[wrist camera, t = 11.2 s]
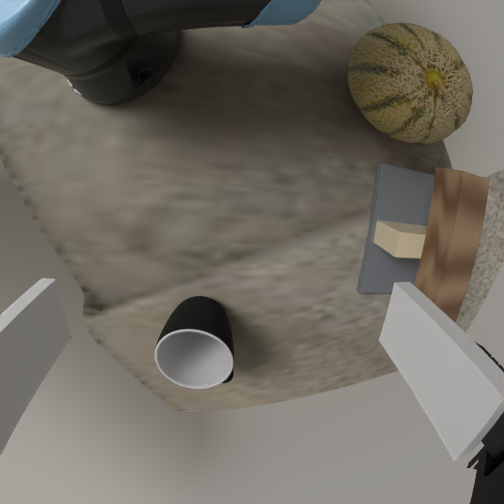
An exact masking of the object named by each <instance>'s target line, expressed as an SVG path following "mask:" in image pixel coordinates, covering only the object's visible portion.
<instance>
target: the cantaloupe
mask: <svg viewBox="0 0 504 504" xmlns="http://www.w3.org/2000/svg"><path fill="white" fill-rule="evenodd" d="M348 84H349V89H350V92H351V95H352V97H353V99H354V101H355V102H356V104H357V105H358V107H359V108H360V110H361V113H362V114H363V115H364V116H365V117H366V119H367V120H368V121H369V122H370V123H371V124H372V125H373V126H374V127H375V128H376V129H378V130H380V131H381V132H383V133H385V134H386V135H388V136H390V137H392V138H393V139H397V140H401V141H404V142H409V143H426V144H427V143H428V144H429V143H434V142H439V141H441V140H443V139H444V138H446V137H448V136H449V135H450V134H451V133H453V132H454V131H455V130H457V129H458V128H460V126H461V125H462V124H463V123H464V122H465V121H466V118H467V117H468V114H469V111H470V107H471V104H472V101H471V100H472V95H473V88H472V82H471V78H470V75H469V72H468V70H467V67H466V65H465V64H464V63H463V61H462V59H461V57H460V55H459V53H458V52H457V50H456V49H455V48H454V47H453V46H452V44H451V43H450V42H449V41H448V40H446V39H445V38H444V37H442V36H441V35H439V34H437V33H435V32H433V31H431V30H429V29H427V28H425V27H422V26H419V25H416V24H410V23H408V24H407V23H393V24H385V25H381V26H380V27H377V28H375V29H373V30H371V31H369V33H368V34H367V35H365V36H364V37H362V38H361V39H360V40H359V41H358V42H357V43H356V45H355V46H354V47H353V49H352V51H351V54H350V58H349V61H348Z"/></svg>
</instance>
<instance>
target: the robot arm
mask: <svg viewBox="0 0 504 504" xmlns="http://www.w3.org/2000/svg"><path fill="white" fill-rule="evenodd" d="M321 1H322V0H0V54H1V55H2V56H4V57H8V58H10V57H14V58H17V59H20V60H24V61H27V62H30V63H33V64H35V65H38V66H41V67H44V68H47V69H50V70H52V71H55V72H58V73H61V74H63V75H64V76H65V77H66V78H67V81H68V83H69V84H70V86H71V87H72V89H73V90H74V91H75V92H76V93H77V94H79V95H80V96H81V97H83V98H85V99H87V100H90V101H93V102H96V103H100V104H118V103H122V102H126V101H129V100H132V99H134V98H136V97H138V96H140V95H142V94H143V93H145V92H146V91H148V90H149V89H150V88H152V87H153V86H154V85H155V84H156V83H157V82H158V81H159V80H160V79H161V78H162V77H163V76H164V75H165V73H166V72H167V70H168V69H169V67H170V66H171V64H172V62H173V60H174V57H175V55H176V51H177V47H178V32H177V31H178V30H187V29H197V28H210V27H231V26H241V27H242V28H250V27H253V26H255V25H291V24H295V23H298V22H300V21H301V20H303V19H305V18H306V17H307V16H308V15H310V14H311V13H312V12H313V11H314V10H315V9H316V8H317V6H318V5H319V4H320V2H321ZM71 338H72V336H71V333H70V329H69V326H68V323H67V320H66V316H65V313H64V309H63V306H62V302H61V298H60V294H59V290H58V286H57V282H56V279H46V278H42V279H41V280H40V281H38V282H37V283H36V284H35V285H33V286H32V287H31V288H30V289H29V290H28V291H27V292H25V293H24V294H23V295H22V296H21V297H20V298H19V299H17V300H16V301H15V302H14V303H13V304H12V305H11V306H10V307H9V308H8V309H6V310H5V311H4V312H3V313H2V314H1V315H0V454H2V452H3V450H4V448H5V446H6V444H7V442H8V440H9V438H10V436H11V434H12V432H13V431H14V429H15V427H16V425H17V423H18V422H19V420H20V418H21V416H22V414H23V413H24V411H25V409H26V407H27V406H28V404H29V402H30V401H31V399H32V397H33V396H34V394H35V392H36V390H37V389H38V388H39V386H40V384H41V382H42V381H43V380H44V378H45V377H46V375H47V373H48V372H49V370H50V369H51V367H52V366H53V364H54V363H55V361H56V360H57V358H58V357H59V355H60V354H61V352H62V351H63V349H64V348H65V347H66V345H67V344H68V342H69V341H70V339H71ZM379 342H380V343H381V344H382V346H383V347H384V349H385V350H386V352H387V353H388V355H389V356H390V358H391V359H392V361H393V362H394V364H395V365H396V367H397V368H398V370H399V372H400V373H401V375H402V376H403V378H404V379H405V381H406V382H407V384H408V385H409V387H410V389H411V390H412V391H413V393H414V395H415V396H416V398H417V400H418V401H419V403H420V405H421V406H422V408H423V409H424V411H425V413H426V414H427V416H428V417H429V419H430V421H431V423H432V424H433V426H434V428H435V429H436V431H437V433H438V434H439V436H440V438H441V439H442V441H443V443H444V445H445V446H446V448H447V450H448V452H449V453H450V455H451V457H452V459H453V461H456V460H458V459H460V458H462V457H464V456H465V455H468V454H469V453H471V452H472V451H473V450H474V449H475V448H476V446H477V445H478V444H479V443H480V442H481V441H482V442H483V444H484V447H483V448H482V449H481V450H480V451H479V452H478V454H477V455H476V456H475V457H474V458H473V459H472V460H471V461H470V462H469V464H468V466H467V468H470V467H471V466H472V465H473V464H474V463H475V462H476V461H477V460H478V459H479V460H478V463H477V464H476V465H475V467H474V469H476V470H477V473H476V478H475V484H474V488H473V494H472V498H471V502H470V504H504V368H503V367H502V366H501V365H498V362H497V361H496V360H495V359H494V358H493V357H491V355H490V354H489V353H488V352H487V351H486V349H485V348H484V347H483V346H481V345H479V344H478V343H476V342H474V341H473V340H472V339H471V338H470V337H469V336H468V335H467V334H466V333H465V332H464V331H463V330H462V329H461V328H460V327H459V326H458V325H457V324H456V323H455V322H454V321H452V320H451V319H450V318H449V317H448V316H447V315H446V314H445V313H444V312H443V311H442V310H441V309H440V308H439V307H437V306H436V305H435V304H434V303H433V302H432V301H431V300H430V299H429V298H428V297H426V296H425V295H424V294H423V293H422V292H421V291H420V290H419V289H417V288H416V287H415V286H414V285H413V284H412V283H411V282H394V286H393V290H392V295H391V299H390V302H389V306H388V310H387V314H386V317H385V321H384V324H383V328H382V331H381V335H380V338H379Z"/></svg>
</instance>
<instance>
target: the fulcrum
mask: <svg viewBox="0 0 504 504" xmlns="http://www.w3.org/2000/svg"><path fill="white" fill-rule="evenodd" d="M434 177H435V175H432V174H428V173H424V172H420V171H415V170H411V169H406V168H402V167H397V166H392V165H387V164H382V163H378V165H377V174H376V183H375V191H374V199H373V206H372V213H371V219H370V226H369V232H368V238H367V243H366V249H365V254H364V259H363V264H362V269H361V274H360V279H359V284H358V288H357V290H358V292H359V293H392V290H393V286H394V282H411V283H412V284H413V285H414V283H415V280H416V276H417V272H418V268H419V264H420V259H421V255H422V250H423V246H424V241H425V236H426V231H427V225H428V219H429V213H430V207H431V200H432V193H433V185H434Z"/></svg>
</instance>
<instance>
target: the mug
mask: <svg viewBox="0 0 504 504" xmlns="http://www.w3.org/2000/svg"><path fill="white" fill-rule="evenodd" d="M155 361H156V364H157V366H158V368H159V370H160V371H161V372H162V373H163V375H164V376H166V377H167V378H168V379H169V380H171V381H172V382H174V383H176V384H178V385H180V386H183V387H187V388H192V389H205V388H210V387H214V386H216V385H219V384H220V383H227V382H229V381H231V380H232V378H233V365H234V348H233V340H232V333H231V328H230V324H229V321H228V318H227V315H226V313H225V311H224V309H223V308H222V307H221V306H220V305H219V304H218V303H217V302H216V301H214V300H213V299H211V298H208V297H203V296H195V297H191V298H188V299H186V300H185V301H183V302H182V303H181V304H179V305H178V307H177V308H176V309H175V310H174V311H173V313H172V314H171V316H170V317H169V319H168V321H167V322H166V324H165V326H164V328H163V330H162V332H161V334H160V337H159V339H158V342H157V345H156V348H155Z"/></svg>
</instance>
